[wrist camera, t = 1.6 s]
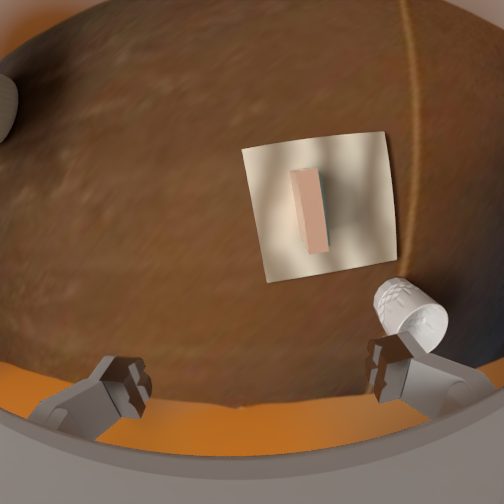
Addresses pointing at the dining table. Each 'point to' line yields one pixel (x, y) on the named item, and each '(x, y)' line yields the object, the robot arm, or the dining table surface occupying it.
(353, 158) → the board
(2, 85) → the canister
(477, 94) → the dining table surface
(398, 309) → the white cup
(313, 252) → the block
